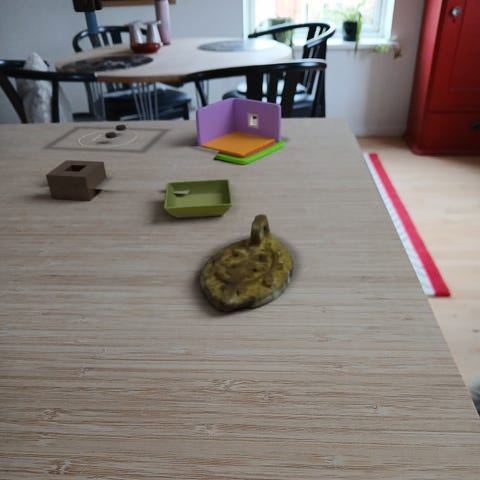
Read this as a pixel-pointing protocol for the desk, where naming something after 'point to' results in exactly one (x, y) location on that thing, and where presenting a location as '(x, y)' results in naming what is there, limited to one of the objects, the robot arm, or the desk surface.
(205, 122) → the miniature room corner
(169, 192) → the green rectangular tray
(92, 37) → the blue rod
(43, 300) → the desk surface
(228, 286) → the seal
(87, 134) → the ring
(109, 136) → the dot
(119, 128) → the dot
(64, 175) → the stand
